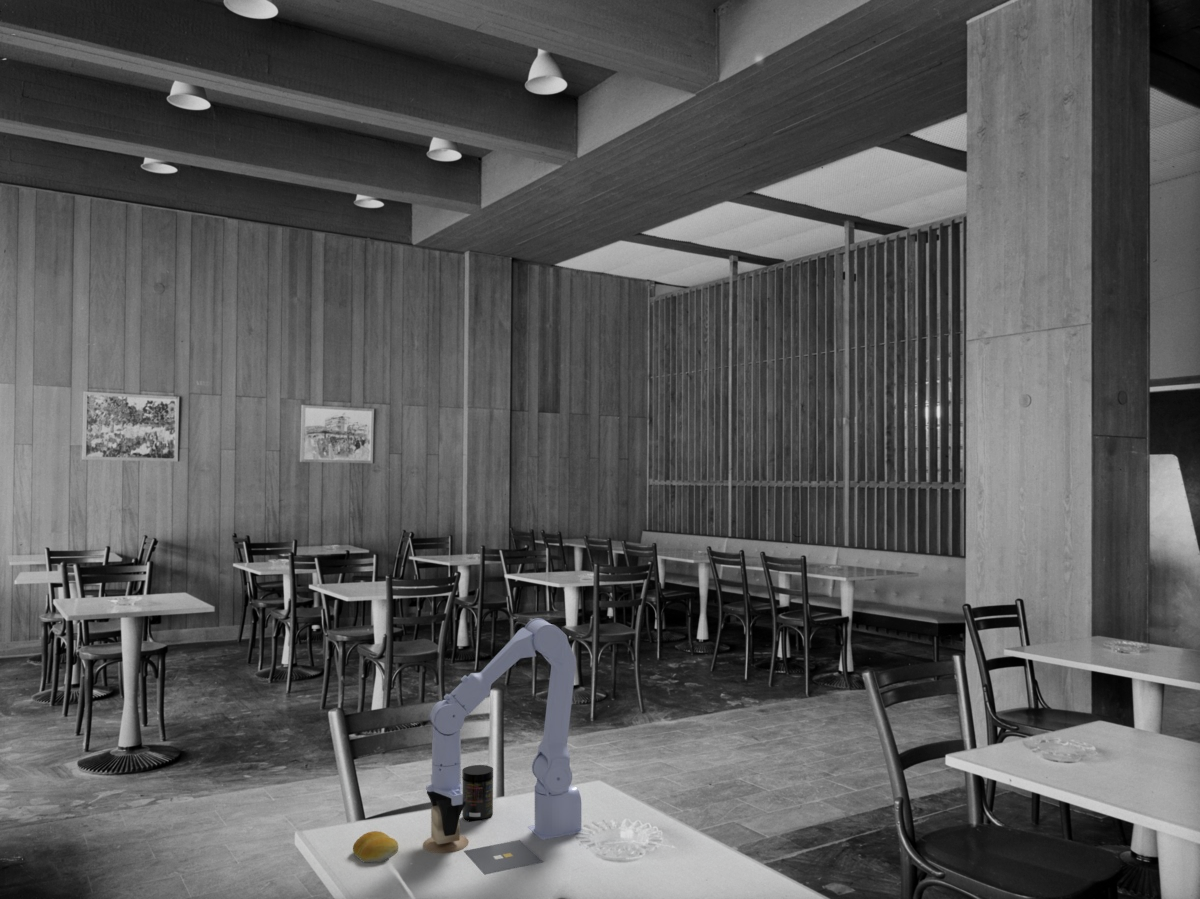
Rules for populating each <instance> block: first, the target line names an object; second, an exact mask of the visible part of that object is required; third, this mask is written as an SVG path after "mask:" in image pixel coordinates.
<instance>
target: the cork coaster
mask: <svg viewBox="0 0 1200 899" xmlns="http://www.w3.org/2000/svg"><path fill="white" fill-rule="evenodd" d="M469 842H470V840H469V839H468V838H467V837H466V836H464V835H461V834H460V840H459V841H453V842H448V843H443V844H437V843H436V842H435V841H434V839H433V838H432V837H431V836H430V837H429V838H427V839H425V840H424V841H423V844H422V846H423V849H424V850H426V851H428V852H430V853H435V854H450V853H456V852H460V851H461V850H464V849H465V848H467V847H468V846H469Z"/></svg>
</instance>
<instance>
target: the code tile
mask: <svg viewBox="0 0 1200 899" xmlns="http://www.w3.org/2000/svg"><path fill="white" fill-rule="evenodd" d="M463 852H464V853H465V854H466V856H467V857H468V858H469V859H470V861H472V862H473V863H474V864H475V866H476V867H477V868H478V869H479V870H480V871H481V872H482V873H483V874H484V875H490V874H495V873H499V872H502V871H507V870H512V869H517V868H523V867H526V866H532V865H536V864H541V863H544V862H545V861H544V860H542V859H541V858H540V857H539V856H538V855H537V854H536V853H535V852H534V851H533V850H532V849H531V848H530V847H528V846H527V845H526V843H524V842H523V841H522V840H521V839H517V840H512V841H507V842H503V843H497V844H492V845H487V846H482V847H476V848H472V849H471V848H470V849H466V850H463Z"/></svg>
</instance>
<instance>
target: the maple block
mask: <svg viewBox="0 0 1200 899" xmlns="http://www.w3.org/2000/svg"><path fill="white" fill-rule="evenodd" d="M430 809H431V810H430V812H431V813H430V819H431V821H430V824H431V826H430V830H431V832H430V833H431V834H430V838H431V837H432V838H433V839H434V841H435V842H436V843H437V844H443V843H448V842H453V841H459V840H460V835H461V833H460V832H461V831H460V830H461V829H460V828H461V826H460V823H461V822H460V818H461V816H460V817H459V821H458V826H457V830H456V833H455V835H450V836H445V835H444V831H443V823H442V816H441V812H440V809H439V807H438V805H437V806H432V805H431V808H430Z"/></svg>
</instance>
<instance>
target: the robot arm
mask: <svg viewBox="0 0 1200 899" xmlns="http://www.w3.org/2000/svg"><path fill="white" fill-rule="evenodd" d="M536 651H537V652H538V653H540V654H541V655H542V657H543V658H544V659H545V660H546V661H547V662H548V664H549V665H550V673H549V674H550V675H549V681H548V683H549V684H548V691H547V692H548V693H547V699H546V700H547V701H546V710H545V717H544V727H543V733H542V734H543V736H542V741H541V742H540V743H539V745H538V750H537V753H536V756H535V757H534V759H533V761H532V764H531V770H532V774H533V776H534V777H535V778H536V783H535V785H534V824H533V825H528V826H527V828H528V829H529V830H530V831H531V832H532V833H533V834H534V835H536V836H537V837H538V838H539V839H540V840H547V839H553V838H557V837H562V836H569V835H573V834H574V835H575V834H579V833H583V829H582V796H581V793H580V790H579V788H578V787H577V786H575V785H571V784H572V781H573V772H572V770H571V766H570V761H571V757H570V751H569V748H568V741H569V740H568V738H569V731H570V723H571V722H570V720H571V711H572V705H573V704H572V703H573V693H574V685H575V675H576V667H577V666H576V665H577V657H576V656H575V653H574V651H573V649H572V647H571V644H570V643H569V640H568V635H567V634H565V632H563V631H562V629H560V627H558V625H555V624H551V623H550V622H549V621H547V620H545V619H543V618H537V617H536V618H533V619H531V620H529V621H528V622H527V623H526V625H525V626H524V627H521V628H520V629H519V630H517V632H516V633H515V634H514V635H513V636H512V638H511V639H510V640H509V641H508V642H507V643H506V644H505V645H504V647H503V648H502V649H501V650H499V652H498V653H497V654H496V655H495V656H493V658H492V659H491V660H490V662H488V663H487V665H486V666H485V667H483V669H482V670H481V671H480V672H471V673H470V674H469V675H468V676H467V675H466V674H465V675H463V677H461V679H460V681H461V682H460V683H459V684H458V685H457V686H456V687H455V688H454V689H453V690H451V692H450V693H449V694H448V693H446V694H445V695H444V696H443V700H439V701H438V702H436V703H435V704H434V705H433V706H432V708H431V711H430V713H429V714H428V715H429V716H428V717H429V720H430V722H431V724H432V725H433V726H432V739H431V774H430V784H427V785H426V787H425V790H426V795H427V797H428V798H429V800H430V803H431V806H437V805H438V807H439V809H440V812H441V816H442V823H443V831H444V835H445V836H450V835H455V833H456V830H457V826H458V821H459V817H460V818H461V815H462V810H463V808H464V806H465V804H466V800H465V799H464V798H463V795H462V781H461V779H462V777H461V776H462V774H461V771H462V770H461V768H462V767H461V766H462V765H461V764H462V763H461V760H462V759H461V755H462V754H461V752H462V751H461V750H462V749H461V748H462V746H461V742H462V740H461V729H462V727H463V726H464V724H465V718H466V717H468V716H469V715H470V714H471V713H472V712H473V711H474V710H475V709H476V708H477V707H479V706H480V704H481V703H482V702H483V701H484V700H486V698H487V697H489V696H490V694H491V690H492V689H491V686H492V684H493V683H494V682H496V680H498V679H499V678H500V677H501V676H502V675H503V674H505V673H506V672H507V671H508V670H509V669H510V668H511V667H512V666H513V665H515V664H516V663H517V662H518V661H519V660H521V659H524V658H533V657H537V654H536Z"/></svg>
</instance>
